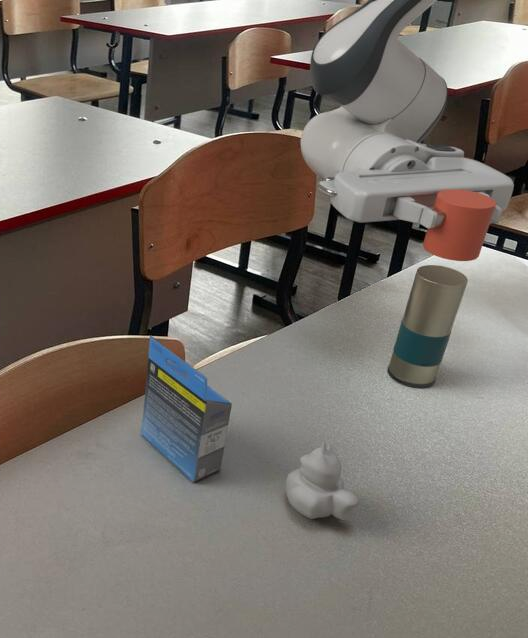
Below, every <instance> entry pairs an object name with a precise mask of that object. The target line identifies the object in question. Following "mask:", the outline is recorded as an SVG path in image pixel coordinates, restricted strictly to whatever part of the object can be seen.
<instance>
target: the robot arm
mask: <svg viewBox="0 0 528 638" xmlns="http://www.w3.org/2000/svg"><path fill="white" fill-rule="evenodd" d="M437 1H438V0H367V1H365V2H364V3H363V4H362V5H361V6H359V7H357V8H356V9H355V10H353V11H352V12H351V13H349V14H348V15H346V16H345V17H343V18H342V19H340V20H339V21H338V22H336V23H335V24H333V25H332V26H331V27H330V28H329V29H327V30H326V31H325V32H324V33H323V34H322V35H321V37H319V39H318V41H316V43H315V45H314V47H313V49H312V52H311V55H310V62H309V75H310V81H311V82H310V83H311V86H312V88H313V90H314V92H315V93H317V94H318V95H319V96H321V97H324V98H325V99H327V100H328V101H330V102H332V103H334V104H335V105H338V106H339V107H338V108H336V109H333V110H330V111H324V112H321V113H318V114H316V115H314V116H313V117H312V118H311V119H309V121H308V122H307V123H306V125H305V126H304V128H303V130H302V133H301V136H300V152H301V155H302V158H303V160H304V162H305V163H306V165H307V166H308V168H309V169H310V170H311V171H312V172H313V173H314V174H315V175H316V176H318V177H319V178H320V179H321V180H320V181H319V182H318V183H317V188H318V190H319V191H321V192H322V193H324V194H326V195H328V196H330V198H329V202H330V204H331V205H332V206H333V208H334V209H336V210H337V211H338V213H340V214H341V215H342V216H343V217H345V219H347V220H350V221H353V222H356V223H360V224H361V223H363V224H364V223H374V222H375V223H376V222H385V221H386V222H387V221H399V220H401V221H406V222H409V223H414V224H419V225H421V226H423V227H424V228H426V229H428V228H438V227H442V226H443V220H444V219H445V213H444V212H443V211H441V210H439V209H438V208H436V207H434V205H435V201H436V198H437V194H438V193H439V192H440V191H443V190H449V189H458V190H467V191H472V192H477V193H480V194H483V195H486V196H488V197H490V198H492V199H493V200H494V201H495V202H496V206H495V209H494V212H493V215H492V218H491V221H490V224H498V223H499V222H500V219H501V216H502V214H503V213H502V212H504V211H506V210H507V208H508V206H509V204H510V201H511V199H512V195H513V192H514V187H515V184H514V181H513V179H512V178H511V177H510V176H508V175H506V174H505V173H502V172H501V171H500V170H497V169H495V168H493V167H491V166H489V165H487V164H485V163H483V162H482V161H481V162H480V161H479V160H476V159H472V158H469V157H465V152H464V150H462V149H460V148H458V147H456V146H448V145H439V144H438V145H435V144H426V143H422V142H423V141H424V140H425V139H426V138H427V137H428V136H429V134H430V133H431V132H432V131H433V129H434V128H435V126H436V125H437V124H438V122H439V120H440V119H441V117H442V115H443V113H444V111H445V108H446V105H447V103H448V102H447V101H448V94H449V93H448V92H449V91H448V84H447V82H446V80H445V79H444V77H442V76H441V75H440V74H439V73H438V72H436V71H435V70H434V69H433V68H432V67H431V66H430V64H428V63H427V62H426V61H425V60H423V59H422V58H421V57H418V55H416V54H415V53H414V52H413V51H412V50H411V49H410V48H408V47H407V46H406V45H405V44H404V43H403V42H401V41H400V40H399V37H400V35H401V34H402V32H403V31H404V30H405V29H406V28H407V27H408V26H409V25H410V24H411V23H413V22H414V21H415V20H416V19H417V18H418V17H419V16H421V15H422V14H423V13H424V12H425V11H426V10H428V9H429V8H430V7H431V6H432V5H433V4H435V3H436V2H437Z"/></svg>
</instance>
